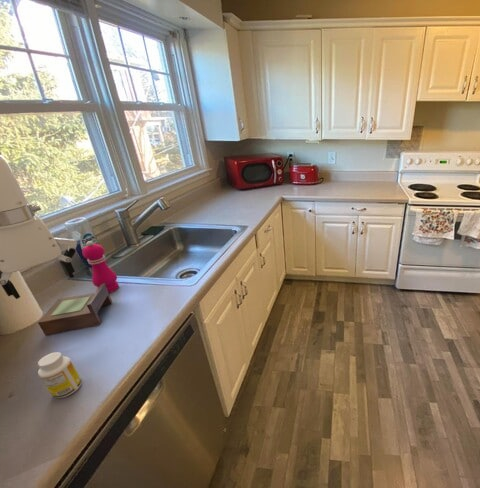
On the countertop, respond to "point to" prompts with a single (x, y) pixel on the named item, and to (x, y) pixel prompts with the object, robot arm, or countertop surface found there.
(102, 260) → the pepper mill
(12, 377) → the countertop surface
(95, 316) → the brown wooden box
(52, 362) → the supplement bottle
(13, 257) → the robot arm
